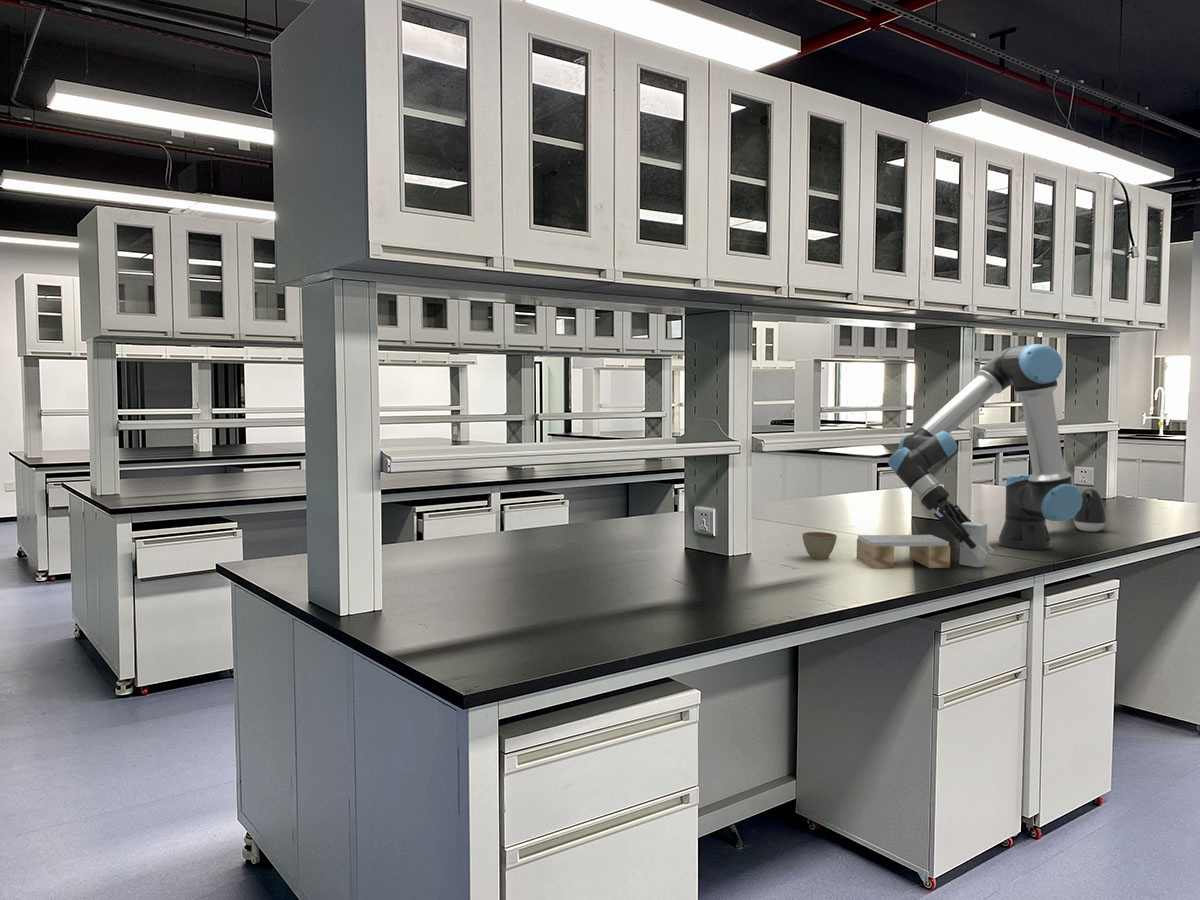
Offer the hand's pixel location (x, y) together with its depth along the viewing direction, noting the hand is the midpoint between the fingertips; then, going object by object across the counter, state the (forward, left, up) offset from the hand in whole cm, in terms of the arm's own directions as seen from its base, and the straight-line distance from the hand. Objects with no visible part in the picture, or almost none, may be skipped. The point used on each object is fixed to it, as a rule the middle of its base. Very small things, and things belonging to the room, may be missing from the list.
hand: (986, 555), depth 235 cm
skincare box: (+3, -3, -4) cm, 5 cm away
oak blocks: (+22, -7, -3) cm, 23 cm away
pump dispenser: (-67, -62, -4) cm, 91 cm away
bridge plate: (+22, -7, +3) cm, 23 cm away
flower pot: (+44, -15, -4) cm, 46 cm away
